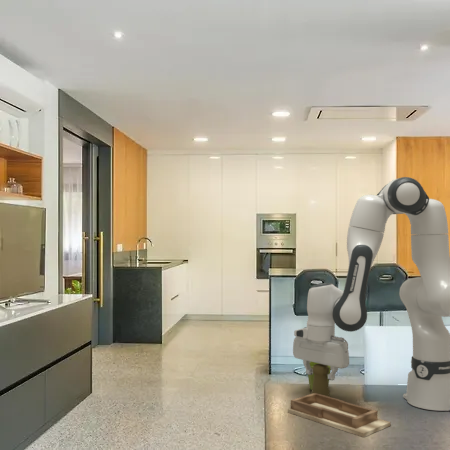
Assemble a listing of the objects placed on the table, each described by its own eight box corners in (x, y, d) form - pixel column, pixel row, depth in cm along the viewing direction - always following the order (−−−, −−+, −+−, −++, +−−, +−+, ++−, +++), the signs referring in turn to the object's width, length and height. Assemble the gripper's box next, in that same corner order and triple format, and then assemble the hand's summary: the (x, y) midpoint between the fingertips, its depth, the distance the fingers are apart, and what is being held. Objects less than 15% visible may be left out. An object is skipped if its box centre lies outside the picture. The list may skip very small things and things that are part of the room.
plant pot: (304, 385, 190) (304, 360, 190) (332, 386, 189) (332, 361, 189) (304, 392, 181) (305, 366, 181) (333, 394, 179) (333, 367, 179)
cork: (330, 402, 170) (330, 367, 171) (310, 401, 172) (310, 366, 172) (330, 396, 176) (330, 362, 177) (311, 395, 178) (311, 361, 178)
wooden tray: (315, 403, 169) (315, 392, 169) (390, 425, 150) (390, 412, 150) (287, 412, 160) (288, 400, 161) (363, 437, 141) (363, 423, 141)
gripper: (353, 337, 169) (353, 382, 169) (302, 328, 184) (302, 369, 184) (341, 339, 165) (341, 385, 164) (290, 330, 180) (289, 372, 179)
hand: (320, 377), depth 174 cm, fingers open, 7 cm apart
